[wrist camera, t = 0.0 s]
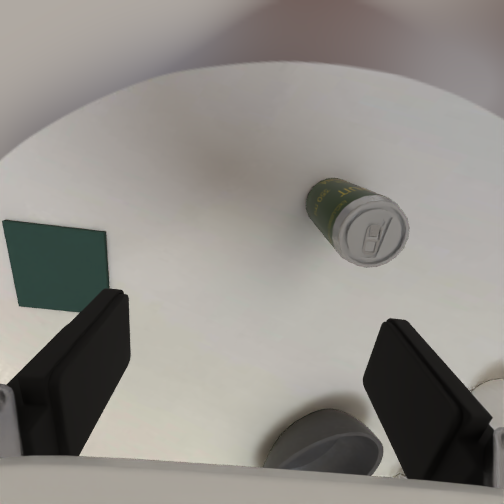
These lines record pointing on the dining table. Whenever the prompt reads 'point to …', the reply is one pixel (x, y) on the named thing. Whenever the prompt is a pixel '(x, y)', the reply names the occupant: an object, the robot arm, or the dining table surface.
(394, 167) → the dining table surface
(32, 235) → the front mat
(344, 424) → the bowl
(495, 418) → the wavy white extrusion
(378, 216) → the beer can
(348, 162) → the dining table surface
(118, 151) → the dining table surface
